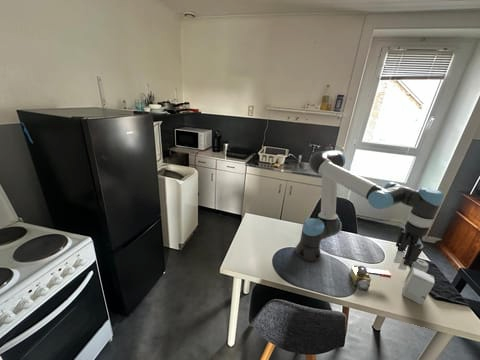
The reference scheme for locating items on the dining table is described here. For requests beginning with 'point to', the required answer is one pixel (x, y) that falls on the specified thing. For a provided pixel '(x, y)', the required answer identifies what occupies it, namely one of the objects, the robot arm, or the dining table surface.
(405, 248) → the robot arm
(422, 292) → the skincare box
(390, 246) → the dining table surface
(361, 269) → the lever
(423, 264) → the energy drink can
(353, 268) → the valve
